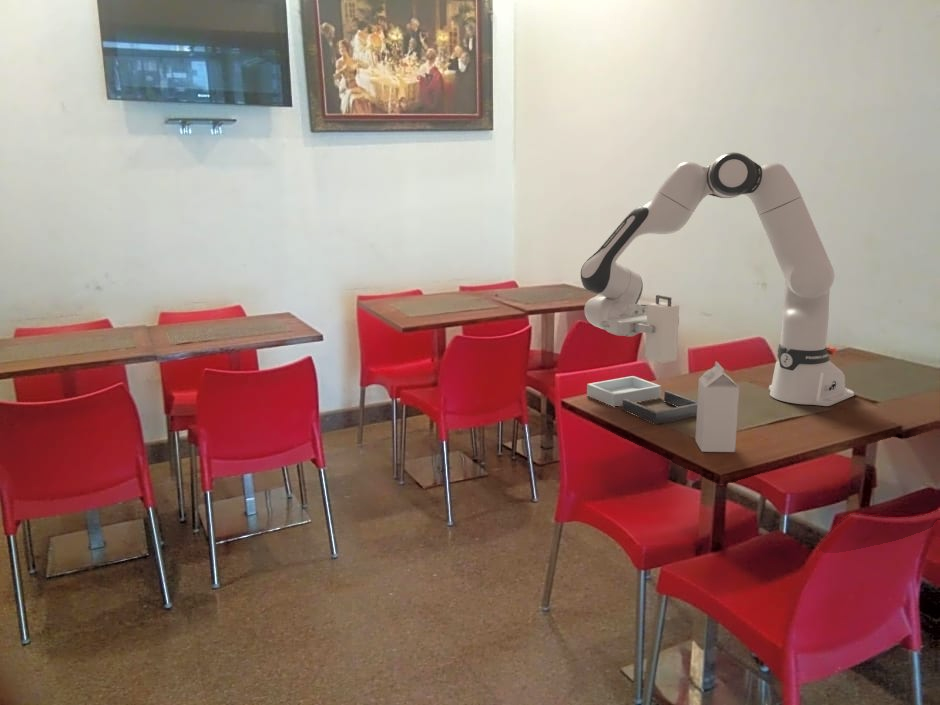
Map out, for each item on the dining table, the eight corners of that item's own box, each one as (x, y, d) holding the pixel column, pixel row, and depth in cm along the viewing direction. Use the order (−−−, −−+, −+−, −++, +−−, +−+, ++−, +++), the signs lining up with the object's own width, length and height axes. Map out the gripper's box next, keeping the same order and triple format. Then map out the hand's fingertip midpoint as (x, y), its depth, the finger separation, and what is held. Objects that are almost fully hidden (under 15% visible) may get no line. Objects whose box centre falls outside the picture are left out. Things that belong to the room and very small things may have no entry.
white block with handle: (660, 355, 186) (663, 293, 182) (676, 360, 181) (679, 297, 177) (645, 357, 184) (647, 295, 180) (661, 362, 179) (664, 299, 175)
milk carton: (727, 441, 164) (732, 361, 160) (735, 453, 157) (740, 369, 153) (695, 441, 165) (699, 361, 160) (701, 452, 158) (706, 369, 154)
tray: (632, 387, 207) (633, 375, 206) (660, 398, 197) (661, 385, 196) (587, 395, 200) (587, 383, 200) (613, 407, 190) (613, 394, 189)
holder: (667, 401, 194) (667, 390, 193) (702, 414, 183) (702, 403, 182) (622, 410, 188) (622, 399, 187) (655, 424, 176) (656, 413, 176)
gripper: (596, 311, 187) (630, 320, 175) (657, 304, 196) (694, 312, 184) (596, 335, 189) (629, 345, 177) (657, 326, 198) (693, 336, 185)
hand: (663, 328), depth 180 cm, fingers closed on white block with handle, 5 cm apart
